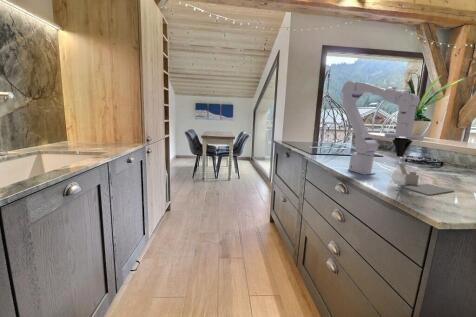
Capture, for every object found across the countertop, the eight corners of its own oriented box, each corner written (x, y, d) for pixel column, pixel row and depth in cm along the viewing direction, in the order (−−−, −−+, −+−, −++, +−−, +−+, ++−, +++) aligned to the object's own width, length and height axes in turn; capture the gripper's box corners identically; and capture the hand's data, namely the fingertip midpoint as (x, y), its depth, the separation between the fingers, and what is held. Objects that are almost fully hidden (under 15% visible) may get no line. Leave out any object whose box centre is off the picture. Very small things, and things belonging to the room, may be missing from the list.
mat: (402, 187, 92) (402, 186, 92) (427, 184, 98) (427, 183, 98) (428, 195, 84) (428, 194, 84) (453, 191, 90) (454, 190, 90)
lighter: (415, 184, 98) (419, 165, 96) (417, 185, 96) (421, 166, 95) (395, 181, 100) (399, 163, 99) (396, 182, 99) (400, 163, 97)
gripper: (430, 124, 93) (424, 159, 95) (393, 123, 106) (389, 153, 108) (419, 124, 90) (413, 159, 92) (383, 122, 103) (378, 154, 105)
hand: (399, 156), depth 100 cm, fingers closed
